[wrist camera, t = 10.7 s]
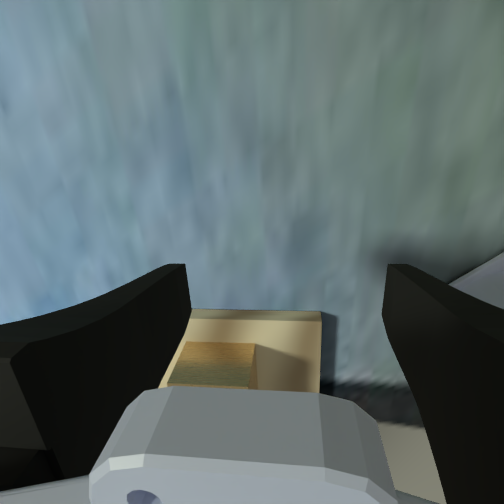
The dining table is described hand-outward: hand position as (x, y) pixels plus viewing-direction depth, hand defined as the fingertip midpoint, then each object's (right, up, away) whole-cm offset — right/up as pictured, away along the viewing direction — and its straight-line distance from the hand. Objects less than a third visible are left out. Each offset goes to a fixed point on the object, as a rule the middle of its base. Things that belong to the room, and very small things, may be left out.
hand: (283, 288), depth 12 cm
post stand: (-3, -7, +14) cm, 16 cm away
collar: (-3, -7, +13) cm, 15 cm away
